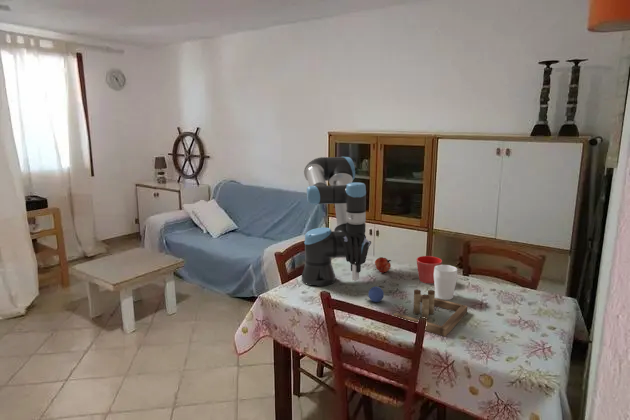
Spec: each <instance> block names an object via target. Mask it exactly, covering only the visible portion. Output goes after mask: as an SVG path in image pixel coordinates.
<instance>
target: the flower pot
mask: <svg viewBox="0 0 630 420" xmlns="http://www.w3.org/2000/svg"><path fill="white" fill-rule="evenodd" d="M437 265H443V260H442V258H439V257H437V256H432V255H422V256H418V257H417V258H416V267H417V273H418V279H419V281H420V282H421V283H424V284H434V267H435V266H437Z"/></svg>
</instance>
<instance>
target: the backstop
mask: <svg viewBox="0 0 630 420" xmlns="http://www.w3.org/2000/svg"><path fill="white" fill-rule="evenodd" d="M422 295H423V294H421V298H420V303H422ZM434 307H439V308H442V309H446V310H450V311H454V313H453V314H452V315H450V317H449V318H448V319H446V321H445V322H444V323H443V324H442V325H440V324H436V323H433V322H428V321H426V322H427V326H426V332H429V333H432V334H436V335H440V336H443V337H445V338H446V337H447V336H448V335H449V334H450V333H451V331H452V330H453V329H455V327H456V326H457V324H459V322H460V321H461V320H462V319H463V318H464V317H465V315H466V314H467V313H468V305H465V304H462V303H457V302H452V301H449V300H443V299H439V298H437V297H435V298H434ZM393 315H394V316H397V317H400V318H403V319H406V320H410V321H414V322H418V318H414V317H413V316H412V317H411V316H407V315H404V314H402V313H397V312H394V313H393ZM393 315H392V316H393ZM447 334H448V335H447Z"/></svg>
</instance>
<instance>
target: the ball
mask: <svg viewBox="0 0 630 420" xmlns="http://www.w3.org/2000/svg"><path fill="white" fill-rule="evenodd" d="M384 296H385V293H384V290H383V289H382V288H381V287H380V286H372V287H371V288H370V289H369V290H368V299H370V300H371V302H374V303H380V302H382V300H383V299H384Z"/></svg>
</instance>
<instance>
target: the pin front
mask: <svg viewBox="0 0 630 420" xmlns="http://www.w3.org/2000/svg"><path fill="white" fill-rule="evenodd" d="M421 291H422V290H420V289H414V290H413V304H412V305H413V307H412V312H413V314H415V315H419V314H421V302H420V298H421V295H422V292H421Z"/></svg>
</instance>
